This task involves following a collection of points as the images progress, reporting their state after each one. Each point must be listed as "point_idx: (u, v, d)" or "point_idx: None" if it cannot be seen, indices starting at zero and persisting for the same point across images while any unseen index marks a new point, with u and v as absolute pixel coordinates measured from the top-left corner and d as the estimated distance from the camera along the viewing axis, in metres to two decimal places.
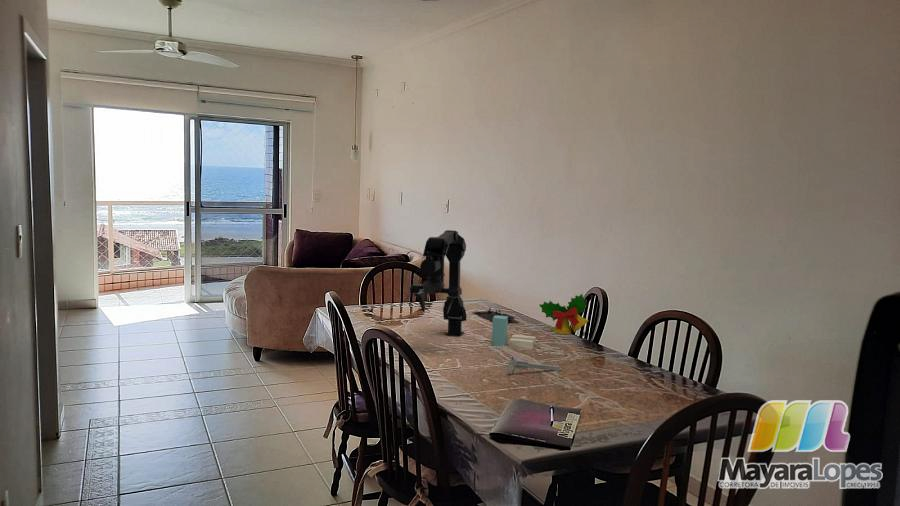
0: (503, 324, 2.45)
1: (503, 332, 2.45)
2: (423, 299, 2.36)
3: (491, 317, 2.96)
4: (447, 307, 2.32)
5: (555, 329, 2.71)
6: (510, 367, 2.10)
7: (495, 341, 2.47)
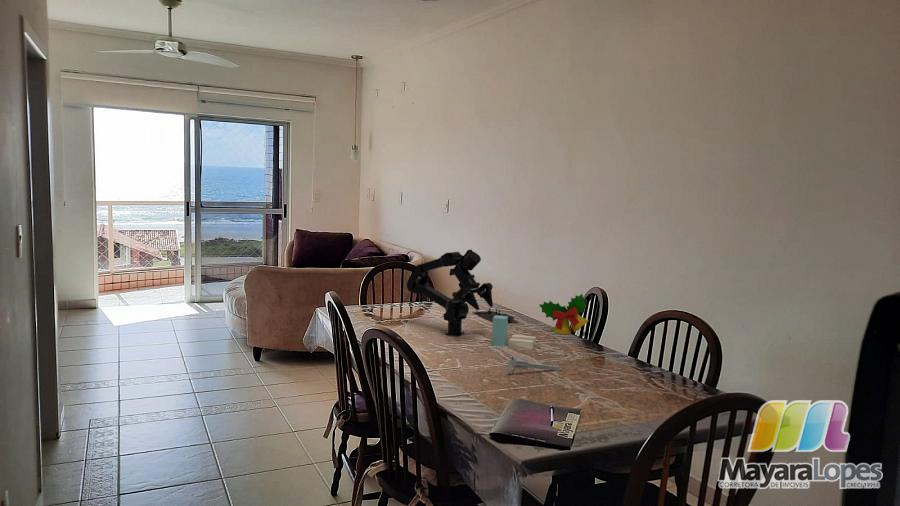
0: (503, 324, 2.45)
1: (503, 332, 2.45)
2: (486, 297, 2.57)
3: (491, 317, 2.96)
4: None
5: (555, 329, 2.71)
6: (510, 367, 2.10)
7: (495, 341, 2.47)
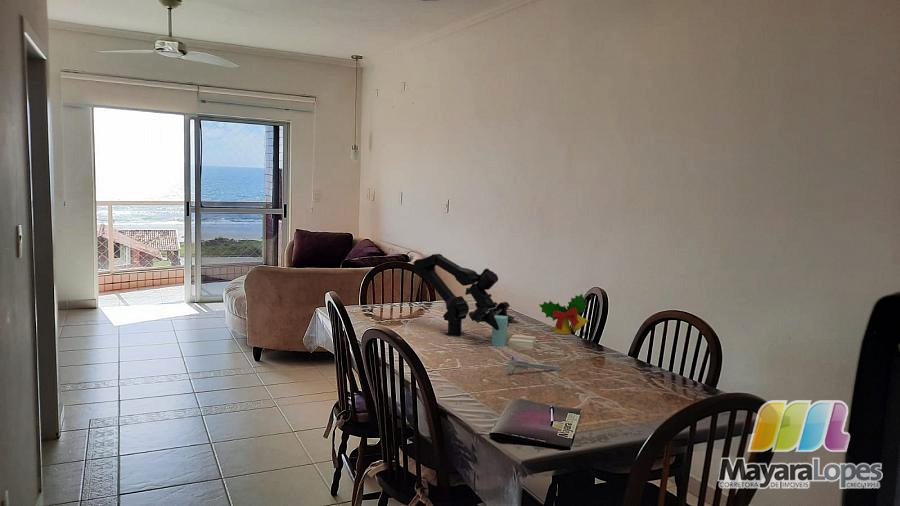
0: (503, 324, 2.45)
1: (503, 332, 2.45)
2: None
3: None
4: None
5: (555, 329, 2.71)
6: (510, 367, 2.10)
7: (495, 340, 2.47)
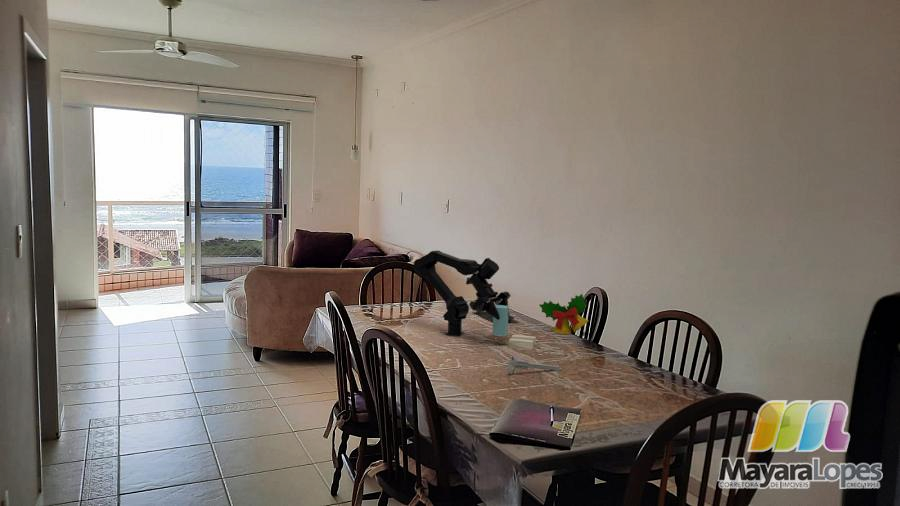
0: (504, 313, 2.44)
1: (504, 321, 2.45)
2: None
3: (491, 317, 2.96)
4: None
5: (555, 329, 2.71)
6: (510, 367, 2.10)
7: (496, 330, 2.46)
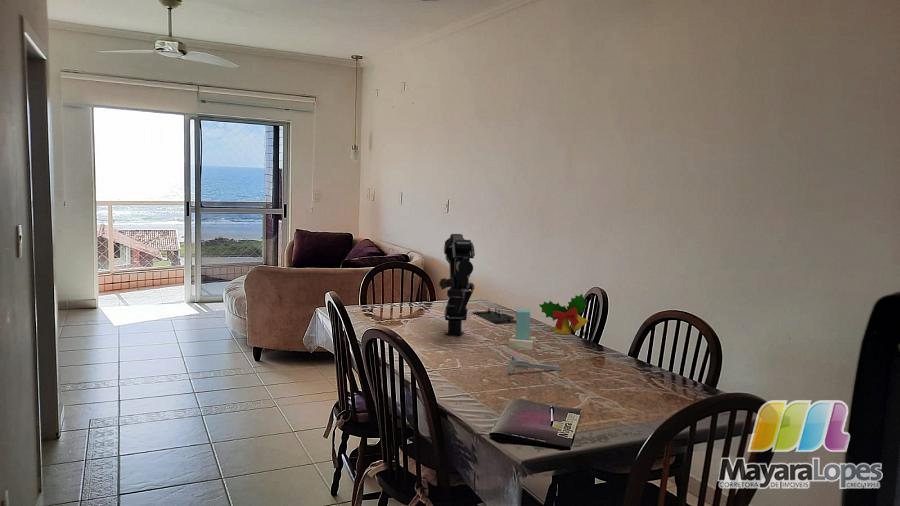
0: (528, 317, 2.44)
1: (528, 325, 2.44)
2: (464, 297, 2.51)
3: (490, 317, 2.96)
4: None
5: (555, 329, 2.71)
6: (510, 367, 2.10)
7: (520, 335, 2.45)
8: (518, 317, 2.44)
